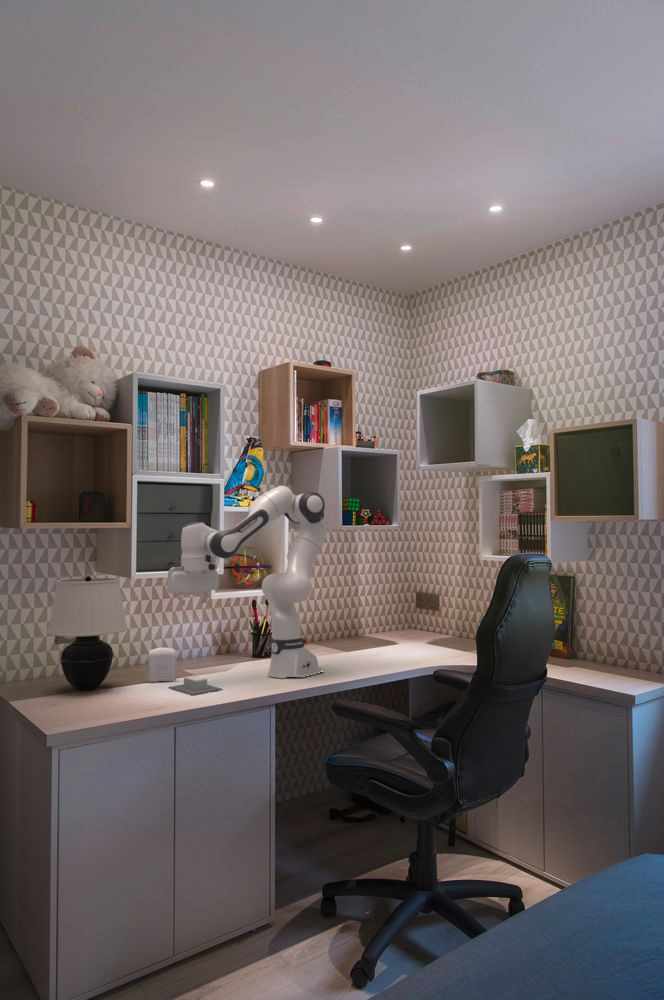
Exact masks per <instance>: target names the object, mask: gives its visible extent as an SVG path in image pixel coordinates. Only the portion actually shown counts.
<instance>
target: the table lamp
mask: <svg viewBox="0 0 664 1000" xmlns="http://www.w3.org/2000/svg"><path fill="white" fill-rule="evenodd" d="M50 613H51V614H50V618H49V622H48V623H49V624H48V629H47V630H46V633H47V635H49V636H55V637H68V638H69V637H76V638H75V640H74V641H72V642H71V643H70V644H68V646H65V647H64V649H63V650H62V652H61V654H60V655H61V656H60V662H61V669H62V672H63V675H64V678H65V680H66V681H67V682H68V683H69V684H70V685H71V686H72V687H73V688H75V689H76V690H78V691H85V692H86V691H92V690H93V691H94V690H95V689H97V688H98V687H99V686H100V685H101V684H102V683H103V682H104V681H105V679H106V678H107V676H109V675H108V674H109V672H110V670H111V666H112V663H113V659H114V658H113V657H114V651H113V649H112V648H113V647H112V646H111V645H110V644H109V643H107V642H105V641H104V640H102V639H100V636H105V635H114V634H119V633H122V632H126V631H127V630H128V629H129V628H128V626H127V620H126V615H125V609H124V604H123V599H122V592H121V587H120V578H114V577H92V576H91V575H87V576H85V577H83V578H82V577H81V578H77V577H76V578H64V579H58V580H56V587H55V592H54V597H53V602H52V607H51V612H50Z"/></svg>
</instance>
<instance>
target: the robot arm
mask: <svg viewBox="0 0 664 1000" xmlns="http://www.w3.org/2000/svg"><path fill="white" fill-rule="evenodd" d="M325 503H326V502H325V499H324V497H323V496H322V495H321V494H320V493H318V492H315V491H306V492H304V493H300V494H298V495H295V494H294V492H293V491H292V490H291V489H290V488H289V487H287V486H286V485H278V486H276V487H274V488H272V489H270V490H268V491H266V492H265V493H263V494H261V495H259V496H258V497H257V498H255V499H254V500H253V502H251V503H250V505H248V509H247V511H248V512H247V513H248V516H247V517H246V518H245V519H243V520H241V522H239V523H238V524H236V525H235V526H234V527H233V528H230V529H226V530H216V529H214V528H211V527H210V526H208V525H206V524H205V522H203V521H196V522H195V521H194V522H190V523H187V524H184V525H183V527H182V530H181V536H180V537H181V538H180V539H181V540H180V548H181V556H180V566H178V567H175V566H173V567H171V568H170V569H169V570H168V571H167V578H168V579H167V583H166V591H167V592H168V593H169V594H176V598H177V599H178V605H179V606H186V600H185V599H183V597H182V596H183V595H184V594H183V593H192V592H193V593H194V592H203V594H204V595H203V597H201V604H208V598H209V597H210V595H211V591H217V590H218V589H219V587H220V578H219V573H218V571H217V570H218V565H217V564H215V563H212V562H209V561H207V560H206V556H211V557H215V558H221V559H229V558H231V557H233V556H235V554H237V552H238V551H239V549H240V547H241V546H242V545H243V543H244V542H245V541H247V540H248V539H249V538H250V537H252V536H253V535H254V534H256V533H257V532H258V531H259V530H261V529H262V528H263V527H266V526H268V525H271V523H273V522H275V521H276V520H277V519H279V518H281V517H282V516H285V517H286V518H287V519H288V520H289V521H290V522H291V523H295V524H299V530H298V533H297V534H296V537H295V539H294V540H293V542H292V544H291V546H290V548H289V549H288V551H287V555H286V559H287V561H288V562H287V566H286V570H285V572H274V573H271V574H268V575H266V577H265V576H264V578H263V580H262V583H261V591H262V594H264V596H265V598H266V601H267V603H268V607H269V611H270V615H271V616H270V617H271V638H270V649H271V650H270V651H271V656H270V663H269V664H270V665H269V670H268V673H267V676H268V677H272V678H276V677H277V679H287V678H286V677H303V676H307V675H311V674H314V673H318V672H321V671H323V670H324V671H325V669H324V668H322V667H319V661H318V658H317V656H316V655H315V654H314V653H312V652H311V651H310V650H309V649H308V648H306V647H305V644H309V642H310V639H309V638H307V637H303V638H302V636H301V633H302V632H301V626H302V625H301V617H300V614H299V613H298V611H297V610H296V606H295V604H297V603H302V602H305V601H306V600H308V599H309V598H310V596H311V594H312V589H313V587H312V583H311V576H312V575H311V574H312V570H313V567H314V564H315V563H316V560H317V558H318V556H319V554H320V552H321V550H322V548H323V546H324V542H325V540H326V537H327V533H328V527H327V525H326V524H325V523H324V521H322V520H323V519H324V517H325V513H324V512H325V508H326V507H325V505H326V504H325Z"/></svg>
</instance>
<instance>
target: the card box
mask: <svg viewBox="0 0 664 1000" xmlns="http://www.w3.org/2000/svg"><path fill="white" fill-rule="evenodd" d="M183 684H184V687H185V688H189V689H192V690H196V691H197V690H202V689H207V685H208V677H207V678H206V677H203V676H199V675H194V674H193V675H188V676H184V677H183Z"/></svg>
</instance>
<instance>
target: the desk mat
mask: <svg viewBox="0 0 664 1000" xmlns="http://www.w3.org/2000/svg"><path fill="white" fill-rule="evenodd" d="M167 688H168V689H169V688H171V689H170V690H172V689H175V690H178V691H177V692H179V691H180V693H182V692H183V694H185V693H187V694H186V695H188V694H190V695H189V696H192V695H194V696H198V694H199V695H204V693H205V694H209V693H208V692H210V693H214V691H215V692H220V691H219V690H221V691H223V688H220V687H217V686H215V685H210V684H207V689H202V690H197V691H196V690H192V689H189V688H185V687H184V683H182V684H176V685H171V686H168V687H167ZM175 690H174V691H175Z"/></svg>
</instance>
